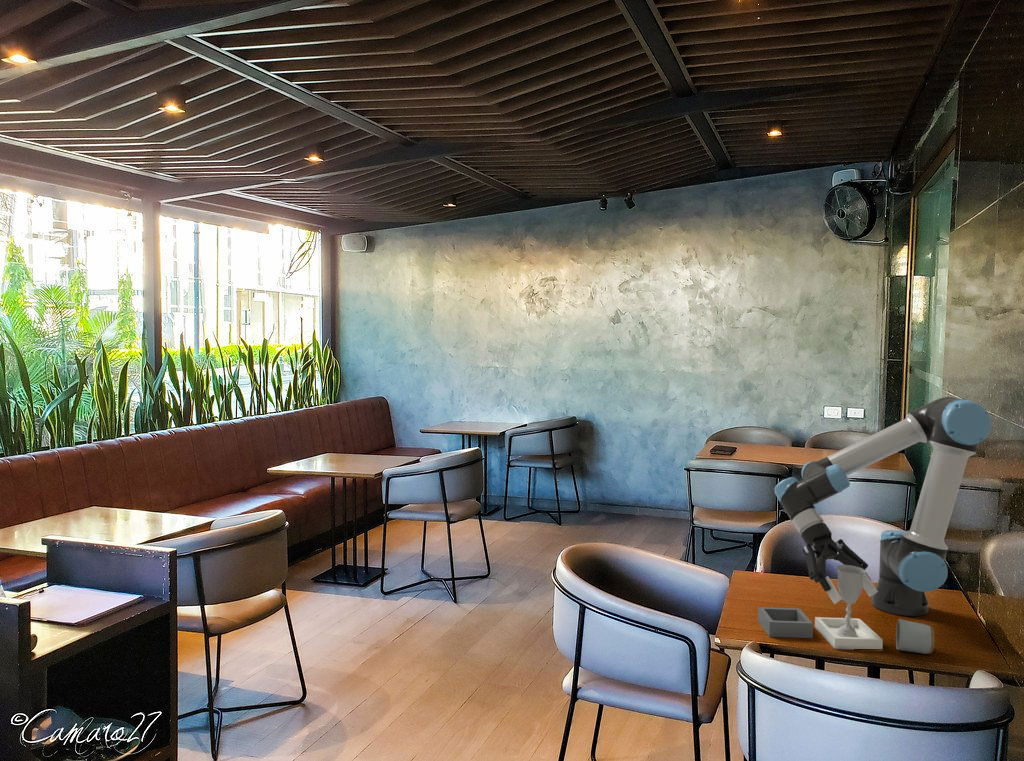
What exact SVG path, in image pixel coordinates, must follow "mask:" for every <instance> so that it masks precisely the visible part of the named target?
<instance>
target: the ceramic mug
mask: <svg viewBox="0 0 1024 761" xmlns="http://www.w3.org/2000/svg"><path fill="white" fill-rule="evenodd" d="M895 628H896V629H895V647H896V649H897V651H904V652H908V653H916V654H923V655H927V654H929V655H930V654H932V653H933V652H934V647H935V631H934V628H933V627H932V626H930V625H928V624H925V623H920V622H915V621H910V620H906V619H902V618H899V619H897V622H896V627H895Z"/></svg>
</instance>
